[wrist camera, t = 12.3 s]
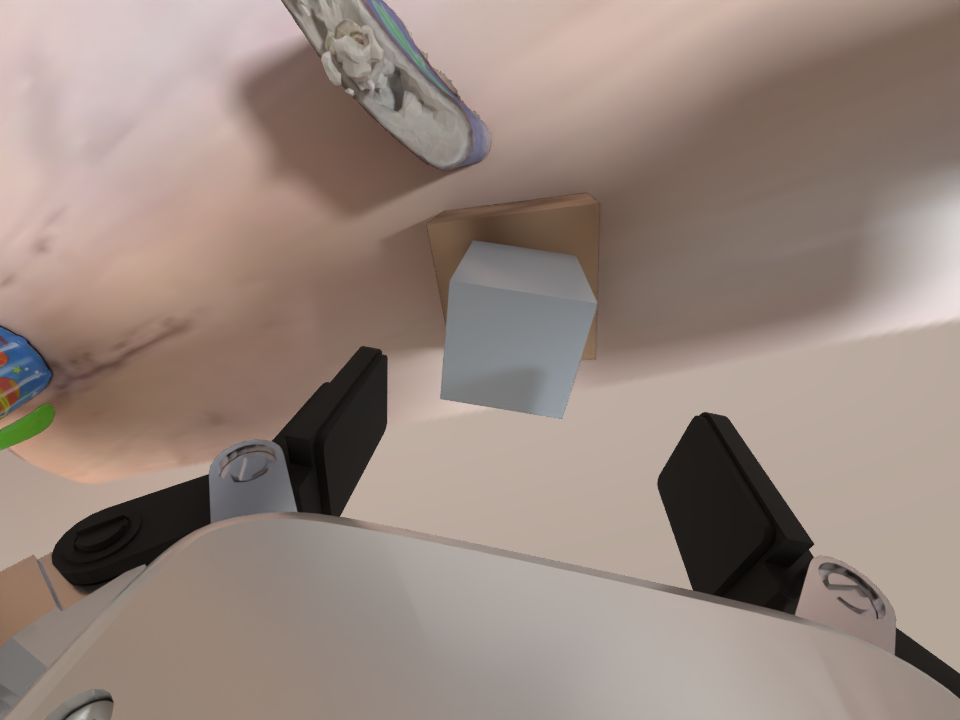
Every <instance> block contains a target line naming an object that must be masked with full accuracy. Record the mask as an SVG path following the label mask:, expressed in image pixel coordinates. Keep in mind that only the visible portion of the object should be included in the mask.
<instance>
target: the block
mask: <svg viewBox="0 0 960 720" xmlns="http://www.w3.org/2000/svg"><path fill="white" fill-rule="evenodd" d="M599 219H600V203H599V202H598V201H597V200H595V199H594V198H593V197H591V196H590V195H589V194H587V193H582V194H574V195H566V196H558V197H550V198H543V199H535V200H527V201H519V202H511V203H503V204H495V205H488V206H480V207H472V208H464V209H456V210H448V211H443V212H442V213H440V214H439V215H438V216H436V217H435V218H434V219H433V220H431V221H430V222H429V223H427V224H426V225H427V231H428V236H429V241H430V246H431V251H432V256H433V262H434V267H435V272H436V277H437V282H438V288H439V293H440V298H441V303H442V308H443V314H444V319H445V324H446V322H447V309H448V297H449V284H450V279H451V278H452V276H453V274H454V273H455V271H456V269H457V267H458V266H459V264H460V262H461V260H462V259H463V257H464V255H465V253H466V252H467V250H468V248H469V247H470V245H471V243H472V241H473V240H476V241H482V242H489V243H496V244H502V245H509V246H516V247H522V248H529V249H536V250H542V251H549V252H556V253H562V254H569V255H576V257H577V259H578V261H579V263H580V265H581V268H582V270H583V272H584V274H585V276H586V279H587V281H588V283H589V285H590V288H591V290H592V292H593V294H594V296H595V299H596V301H597V293H598V256H599ZM596 330H597V307H596V311H595V314H594V317H593V321H592V324H591V327H590V330H589V334H588V337H587V340H586V343H585V347H584V350H583V353H582V357H581V360H592V359H596Z"/></svg>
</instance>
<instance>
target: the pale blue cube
mask: <svg viewBox="0 0 960 720" xmlns="http://www.w3.org/2000/svg"><path fill="white" fill-rule="evenodd" d="M597 304H598V303H597V301H596V299H595V296H594V294H593V292H592V290H591V288H590V285H589V283H588V281H587V279H586V276H585V274H584V272H583V270H582V268H581V265H580V263H579V261H578V259H577V257H576V255H569V254H562V253H556V252H549V251H542V250H536V249H529V248H522V247H516V246H509V245H502V244H496V243H489V242H482V241H476V240H473V241H472V243H471V245H470V247H469V248H468V250H467V252H466V253H465V255H464V257H463V259H462V260H461V262H460V264H459V266H458V267H457V269H456V271H455V273H454V274H453V276H452V278H451V279H450V284H449V297H448V309H447V322H446V334H445V346H444V359H443V371H442V383H441V396H440V399H444V400H450V401H456V402H462V403H468V404H474V405H480V406H486V407H492V408H498V409H504V410H510V411H517V412H523V413H529V414H535V415H541V416H547V417H553V418H559V419H563V415H564V412H565V409H566V406H567V402H568V399H569V396H570V393H571V389H572V386H573V383H574V379H575V376H576V373H577V370H578V366H579V363H580V360H581V357H582V353H583V350H584V347H585V343H586V340H587V337H588V334H589V330H590V327H591V324H592V321H593V317H594V314H595V311H596V307H597Z"/></svg>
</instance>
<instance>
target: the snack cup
mask: <svg viewBox="0 0 960 720" xmlns="http://www.w3.org/2000/svg"><path fill="white" fill-rule="evenodd" d="M51 376H52V374H51V371H50V370H49V369H48V368H47V366H46V364H45V362H44V360H43V359H42V357H41V356H40V355H39V354H38V353H37V352H36V351H35V350H34V349H33V348H32V347H31V346H30V345H29V344H28V342H27V341H26V339H24V338H23V337H21V336H17V335H15V334H13V333H12V332H10V331H9V330H6V329H4V328H2V327H0V419H2V418H3V417H5V416H7V415H8V414H10V413H11V412H13V411H14V410H16V409H17V408H19V407H20V406H22V405H23V404H25V403H26V402H28V401H29V400H31V399H32V398H33V397H34V396H35V395H37V394H38V393H40V392H41V391H43V390H44V388H45V387H46V386H47V384H48V382H49V379H50V377H51ZM54 417H55V411H54V407H53V406H52V405H51V404H49V403H46V404H43V405H41V406H40V407H38V408H37V409H36V410H35V411H34V412H32V413H31V414H29V415H27V416H25V417H23V418H21V419H19V420H18V421H16V422H14V423H12V424H10V425H8V426H6V427H4V428H2V429H0V450H2V449H5V448H7V447H10V446H12V445H15V444H17V443H20V442H22V441H24V440H27V439H29V438H31V437H33V436H35V435H37V434H39V433H41V432H42V431H43V430H45V429H46V428H47V427H48V426H49V425H50V424H51V423H52V421H53V419H54Z"/></svg>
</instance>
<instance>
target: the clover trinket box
mask: <svg viewBox="0 0 960 720" xmlns="http://www.w3.org/2000/svg"><path fill="white" fill-rule="evenodd" d="M281 1H282V2H283V4H284V5H285V7H286V8H287V9H288V11H289V12H290V13H291V15H292V17H293V19H294V20H295V22H296V23H297V25H298V26H299V27H300V29H301V30H302V32H303V33H304V35H305V36H306V38H307V39H308V40H309V42H310V43H311V45H312V46H313V48H314V49H315V51H316V53H317V54H318V56H319V57H320V58H321V61H322V65H323V68H324V70H325V72H326V74H327V76H328V78H329V80H330V81H331V82H332V84H334V85H335V86H341V84H342V86H343V87H344V88H345V89H346V90H345V92H346V94H348V95H350V96H353V98H354V99H356V100H357V101H358V103H359V104H360V105H361V106H362V107H363V108H364V109H365V110H366V111H367V112H368V114H369V115H370V116H371V117H373V118H374V119H375V120H376V121H377V122H379V123H380V124H381V125H382V126H383V127H384V128H385V130H387V131H388V132H389V133H390V134H391V135H392V136H393V137H394V138H396V139H397V140H398V141H399V142H400V143H401V144H402V145H404V146H405V147H406V148H407V149H408V150H410V151H411V152H412V153H413V154H415V155H416V156H417V157H419V158H420V159H421V160H422V161H424V162H425V163H426V164H428V165H431V166H433V167H435V168H436V169H439V170H441V171H450V170H452V169H455V168H457V167H461V166H466V165H469V164H477V163H479V162H480V161H482V160H483V159H484V158H485V157H486V156H487V154H488V152H489V151H490V146H491V136H490V132H489V130H488V128H487V126H486V124H485V123H484V122H483V121H482V120H481V119H480V117H479V115H478V114H477V113H476V112H475V111H471V110H470V109H469V108H468V107H467V106H466V105H465V104H464V102H463V100H461V98H460V96H458V94H457V90H456V88H455V87H454V86H453V85H452V83H451V80H449V79H447V77H446V76H445V74H443V73H441V71H440V72H438V70H436V69H434V68H432V67H431V65H430V64H429V62H428V61H427V56H428V54H425V53H424V52H422V51H421V50H420V49H418V48H417V46H416V45H415V44H414V42H413V39H412V36H411V35H412V33H409V31H408V30H407V29H406V27H405V26H404V24H403V22H402V21H401V20H400V19H399V17H398V16H397V15H396V13H395V12H394V11H393V10H392V9H391V8H389V7H388V5H387V4H386V3H385V2H384V1H383V0H281Z"/></svg>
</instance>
